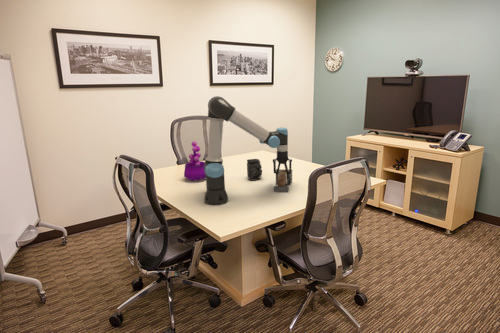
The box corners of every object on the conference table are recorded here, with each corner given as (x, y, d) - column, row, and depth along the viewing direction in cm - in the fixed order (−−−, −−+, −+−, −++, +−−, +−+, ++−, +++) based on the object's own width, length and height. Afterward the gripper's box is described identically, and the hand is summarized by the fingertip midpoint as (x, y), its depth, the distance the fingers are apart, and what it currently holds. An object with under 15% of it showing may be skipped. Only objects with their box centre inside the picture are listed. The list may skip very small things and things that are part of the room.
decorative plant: (190, 175, 267) (187, 138, 259) (211, 176, 263) (209, 139, 255) (180, 182, 249) (177, 143, 241) (204, 183, 246) (201, 144, 238)
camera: (263, 180, 249) (262, 161, 245) (249, 181, 247) (248, 162, 243) (260, 176, 259) (259, 157, 255) (247, 177, 257) (246, 158, 253)
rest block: (273, 191, 224) (273, 186, 223) (274, 189, 228) (274, 184, 227) (288, 192, 222) (288, 187, 221) (288, 190, 226) (288, 184, 225)
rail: (277, 186, 224) (277, 178, 223) (281, 179, 239) (281, 171, 238) (284, 187, 223) (284, 178, 222) (287, 180, 238) (287, 172, 236)
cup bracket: (274, 184, 238) (274, 171, 235) (275, 182, 244) (275, 169, 241) (291, 185, 236) (291, 171, 233) (292, 182, 241) (292, 169, 239)
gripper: (268, 151, 223) (269, 184, 229) (294, 151, 219) (294, 185, 226) (270, 149, 230) (270, 180, 236) (295, 149, 227) (295, 181, 233)
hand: (282, 182), depth 231 cm, fingers open, 5 cm apart
